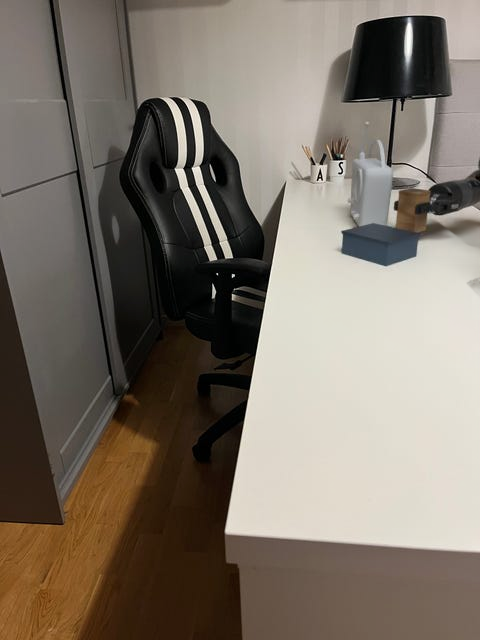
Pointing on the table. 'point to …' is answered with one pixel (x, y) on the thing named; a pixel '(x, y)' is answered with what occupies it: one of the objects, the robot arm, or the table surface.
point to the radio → (370, 187)
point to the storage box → (380, 243)
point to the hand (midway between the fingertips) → (406, 208)
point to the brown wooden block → (411, 209)
